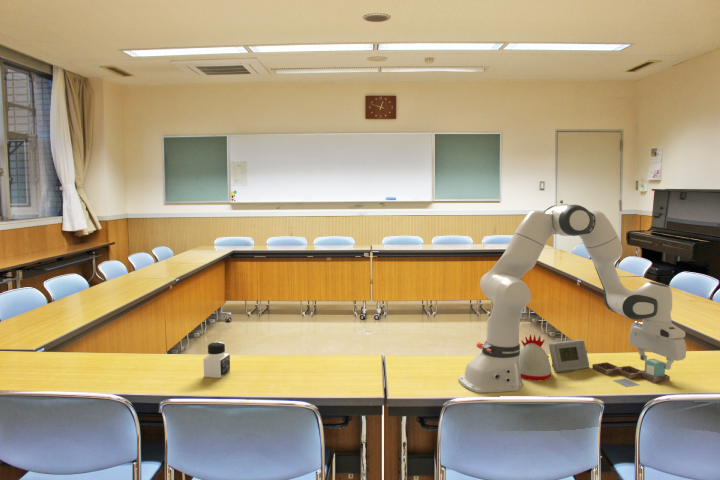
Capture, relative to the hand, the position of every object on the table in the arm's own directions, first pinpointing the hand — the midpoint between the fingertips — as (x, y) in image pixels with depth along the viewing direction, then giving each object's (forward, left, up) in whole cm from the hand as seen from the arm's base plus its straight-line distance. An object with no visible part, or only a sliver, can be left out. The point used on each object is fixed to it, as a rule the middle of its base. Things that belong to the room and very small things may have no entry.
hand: (654, 364), depth 169 cm
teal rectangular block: (0, 0, -5) cm, 5 cm away
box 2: (-5, +6, -6) cm, 9 cm away
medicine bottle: (-151, +54, -6) cm, 161 cm away
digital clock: (-22, +18, -6) cm, 29 cm away
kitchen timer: (-38, +19, -6) cm, 43 cm away
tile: (-13, 0, -6) cm, 14 cm away
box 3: (0, 0, -6) cm, 6 cm away
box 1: (-10, +11, -6) cm, 16 cm away
